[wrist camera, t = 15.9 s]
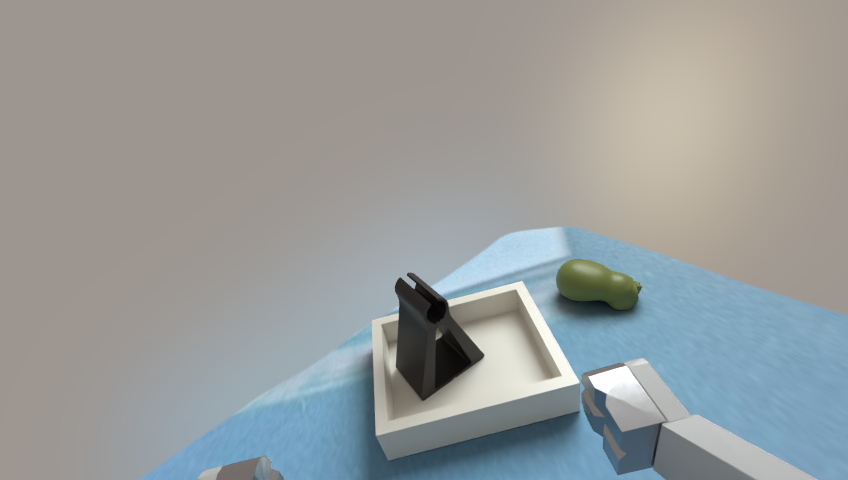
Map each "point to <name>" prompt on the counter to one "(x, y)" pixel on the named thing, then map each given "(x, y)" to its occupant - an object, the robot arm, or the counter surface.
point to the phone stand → (430, 340)
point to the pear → (596, 284)
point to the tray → (475, 377)
